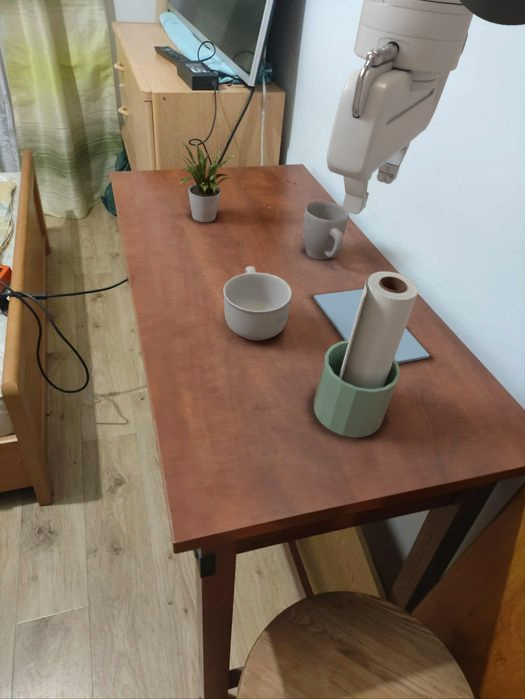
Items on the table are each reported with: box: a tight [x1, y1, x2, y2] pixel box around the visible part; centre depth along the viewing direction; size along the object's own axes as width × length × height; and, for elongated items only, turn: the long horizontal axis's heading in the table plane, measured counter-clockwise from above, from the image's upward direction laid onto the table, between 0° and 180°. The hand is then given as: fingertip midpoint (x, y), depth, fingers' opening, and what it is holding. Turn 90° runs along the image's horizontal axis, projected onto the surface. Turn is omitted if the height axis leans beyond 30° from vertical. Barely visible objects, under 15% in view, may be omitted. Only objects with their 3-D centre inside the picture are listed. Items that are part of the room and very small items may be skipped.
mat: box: [313, 288, 431, 365], centre depth 89 cm, size 20×12×1 cm, turn 20°
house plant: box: [171, 139, 239, 223], centre depth 109 cm, size 14×14×16 cm
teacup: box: [222, 265, 293, 341], centre depth 84 cm, size 14×11×8 cm
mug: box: [302, 200, 350, 261], centre depth 103 cm, size 12×9×10 cm
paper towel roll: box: [339, 270, 419, 389], centre depth 67 cm, size 7×6×21 cm
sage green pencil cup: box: [313, 340, 401, 438], centre depth 70 cm, size 10×10×9 cm
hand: (370, 194), depth 52 cm, fingers open, 8 cm apart
